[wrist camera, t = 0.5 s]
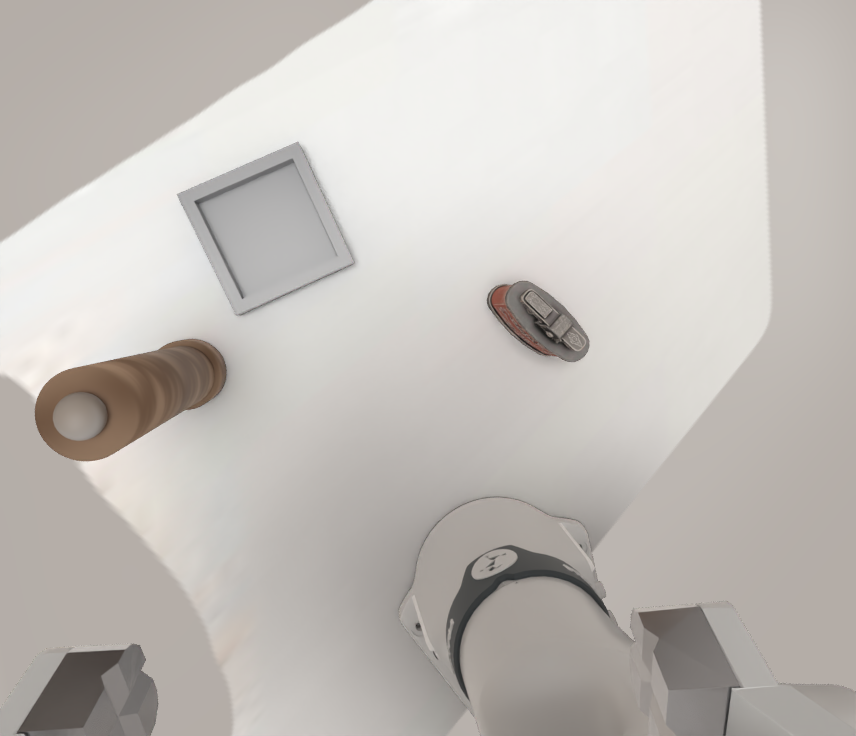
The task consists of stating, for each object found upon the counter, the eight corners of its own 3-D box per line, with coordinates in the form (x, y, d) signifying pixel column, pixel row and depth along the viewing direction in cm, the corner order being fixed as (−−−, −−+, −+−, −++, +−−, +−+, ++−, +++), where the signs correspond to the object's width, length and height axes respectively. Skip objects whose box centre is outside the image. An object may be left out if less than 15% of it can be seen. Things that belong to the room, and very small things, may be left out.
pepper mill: (237, 387, 57) (152, 446, 32) (177, 415, 56) (43, 497, 32) (208, 328, 56) (97, 342, 31) (146, 356, 55) (-15, 392, 31)
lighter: (567, 336, 60) (611, 341, 50) (543, 364, 60) (581, 375, 50) (503, 275, 58) (535, 268, 49) (478, 304, 58) (504, 302, 49)
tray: (353, 263, 57) (353, 262, 55) (240, 315, 56) (236, 315, 54) (300, 147, 55) (298, 141, 53) (183, 198, 55) (176, 194, 53)
